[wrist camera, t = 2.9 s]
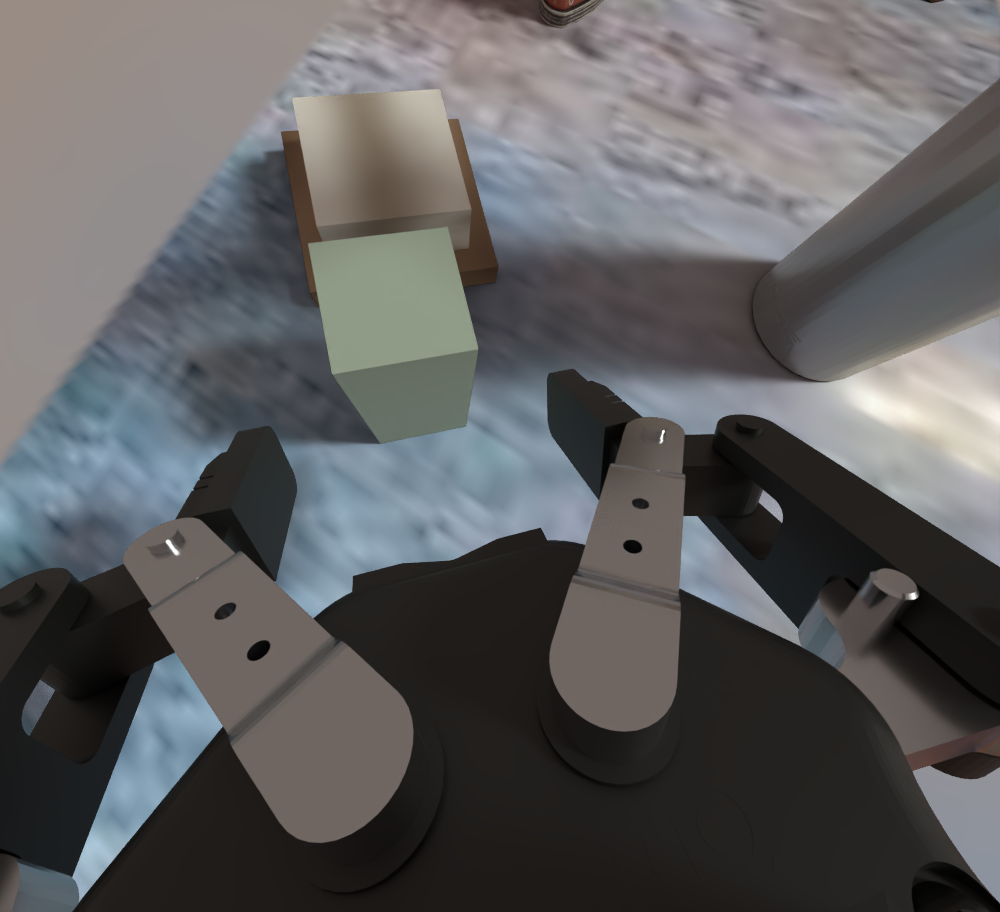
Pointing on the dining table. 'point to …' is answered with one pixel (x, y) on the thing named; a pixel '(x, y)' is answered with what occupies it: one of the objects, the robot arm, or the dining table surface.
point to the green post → (398, 330)
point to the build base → (385, 175)
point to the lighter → (566, 11)
